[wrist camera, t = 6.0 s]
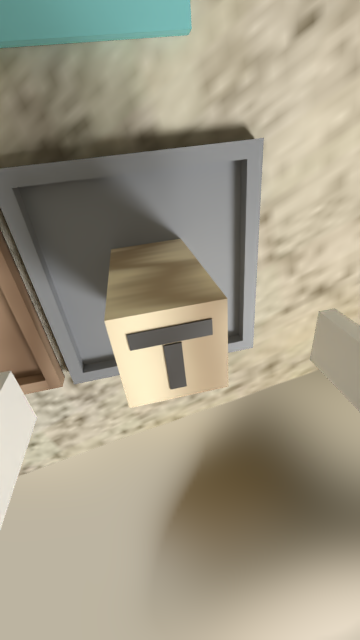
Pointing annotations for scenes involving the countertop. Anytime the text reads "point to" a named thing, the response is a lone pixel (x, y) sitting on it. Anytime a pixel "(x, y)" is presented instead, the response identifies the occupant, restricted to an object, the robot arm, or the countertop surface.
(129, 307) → the letter block
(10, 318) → the walnut tray
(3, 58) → the countertop surface
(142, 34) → the teal mat
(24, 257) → the grey tray
